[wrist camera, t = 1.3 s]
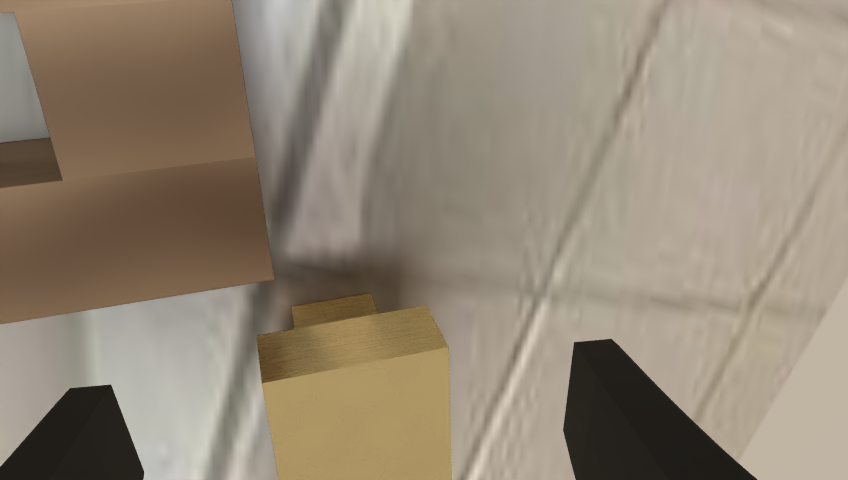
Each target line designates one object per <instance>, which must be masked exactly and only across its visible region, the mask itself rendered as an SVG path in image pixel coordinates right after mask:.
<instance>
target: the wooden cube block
mask: <svg viewBox="0 0 848 480" xmlns="http://www.w3.org/2000/svg"><path fill="white" fill-rule="evenodd" d="M292 314H293V321H294V328H295V329H291V330H285V331H280V332H274V333H268V334H263V335H257V343H258V352H259V361H260V371H261V380H262V387H263V392H264V398H265V404H266V409H267V415H268V421H269V426H270V432H271V438H272V443H273V449H274V455H275V460H276V466H277V472H278V477H279V480H452V470H451V429H450V388H449V347H448V345H447V343H446V341H445V340H444V338H443V336H442V334H441V332H440V330H439V328H438V326H437V324H436V322H435V321H434V319H433V317H432V315H431V313H430V311H429V309H428V307H427V305H425V306H419V307H414V308H408V309H402V310H397V311H391V312H386V313H380V314H379V313H378V311H377V308H376V306H375V303H374V301H373V299H372V296H371V294H370V293H368V294H362V295H356V296H350V297H345V298H339V299H333V300H327V301H321V302H316V303H310V304H304V305H298V306H292Z"/></svg>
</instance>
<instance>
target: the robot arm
mask: <svg viewBox="0 0 848 480" xmlns="http://www.w3.org/2000/svg"><path fill="white" fill-rule="evenodd" d="M563 431H564V435H565V439H566V443H567V447H568V451H569V455H570V460H571V464H572V467H573V471H574V475H575V478H576V480H757V479H756V478H755V477H754V476H752V475H751V474H750V473H749V472H748V471H747V470H745V469H744V468H743V467H742V466H741V465H740V464H739V463H737V462H736V461H735V460H734V459H733V458H732V457H731V456H730V455H729V454H727V453H726V452H725V451H724V450H723V449H722V448H721V447H720V446H719V445H718V444H717V443H715V442H714V441H713V440H712V439H711V438H710V437H709V436H708V435H707V434H706V433H705V432H704V431H703V430H702V429H701V428H700V427H699V426H698V425H696V424H695V423H694V422H693V421H692V420H691V419H690V418H689V417H688V416H687V415H686V414H685V413H684V412H683V411H682V410H681V409H680V408H679V407H678V406H677V405H676V404H675V403H674V402H673V401H672V400H671V399H670V398H669V397H668V396H667V395H666V394H665V393H664V392H663V391H662V390H661V389H660V388H659V387H658V386H657V385H656V384H655V383H654V382H653V381H652V380H651V379H650V378H649V377H648V376H647V375H646V374H645V373H644V372H643V370H642V369H641V368H640V367H639V366H638V365H637V364H636V363H635V362H634V361H633V360H632V359H631V358H630V357H629V356H628V355H627V354H626V353H625V352H624V351H623V350H622V349H621V348H620V346H619V345H618V344H617V343H615V342H614V341H613V340H612V339H606V340H595V341H584V342H574V348H573V356H572V364H571V372H570V380H569V388H568V396H567V404H566V412H565V420H564V428H563ZM143 478H144V470H143V468H142V465H141V462H140V460H139V457H138V455H137V452H136V449H135V447H134V444H133V441H132V439H131V436H130V433H129V431H128V428H127V426H126V423H125V420H124V418H123V415H122V412H121V410H120V407H119V405H118V402H117V399H116V397H115V394H114V391H113V389H112V386H111V385H102V386H91V387H80V388H70V389H69V390H68V391H67V392H66V393H65V394H64V396H63V397H62V398H61V399H60V400H59V401H58V402H57V403H56V404H55V406H54V407H53V408H52V409H51V410H50V411H49V412H48V413H47V415H46V416H45V417H44V418H43V419H42V420H41V421H40V422H39V424H38V425H37V426H36V427H35V428H34V429H33V430H32V432H31V433H30V434H29V435H28V436H27V437H26V438H25V440H24V441H23V442H22V443H21V444H20V445H19V446H18V448H17V449H16V450H15V451H14V452H13V453H12V454H11V456H10V457H9V458H8V459H7V460H6V461H5V462H4V464H3V465H2V466H1V467H0V480H143Z"/></svg>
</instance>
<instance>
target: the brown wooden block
mask: <svg viewBox="0 0 848 480" xmlns="http://www.w3.org/2000/svg"><path fill="white" fill-rule="evenodd" d="M7 12H14V14H15V17H16V21H17V24H18V28H19V31H20V35H21V38H22V42H23V45H24V48H25V52H26V55H27V59H28V62H29V66H30V69H31V72H32V76H33V79H34V83H35V86H36V90H37V93H38V97H39V100H40V103H41V107H42V110H43V114H44V117H45V121H46V124H47V128H48V131H49V134H50V138H45V139H36V140H27V141H18V142H9V143H0V324H5V323H12V322H18V321H24V320H30V319H36V318H42V317H48V316H55V315H61V314H67V313H73V312H79V311H85V310H91V309H98V308H104V307H110V306H116V305H122V304H128V303H134V302H141V301H147V300H153V299H159V298H165V297H171V296H177V295H183V294H190V293H196V292H202V291H208V290H214V289H220V288H226V287H233V286H239V285H245V284H251V283H257V282H263V281H269V280H274V273H273V267H272V260H271V254H270V247H269V241H268V234H267V228H266V221H265V215H264V208H263V202H262V195H261V189H260V182H259V176H258V169H257V163H256V156H255V150H254V143H253V137H252V130H251V123H250V117H249V110H248V104H247V97H246V91H245V84H244V78H243V71H242V65H241V58H240V52H239V45H238V39H237V32H236V26H235V19H234V13H233V6H232V0H0V13H7Z"/></svg>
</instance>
